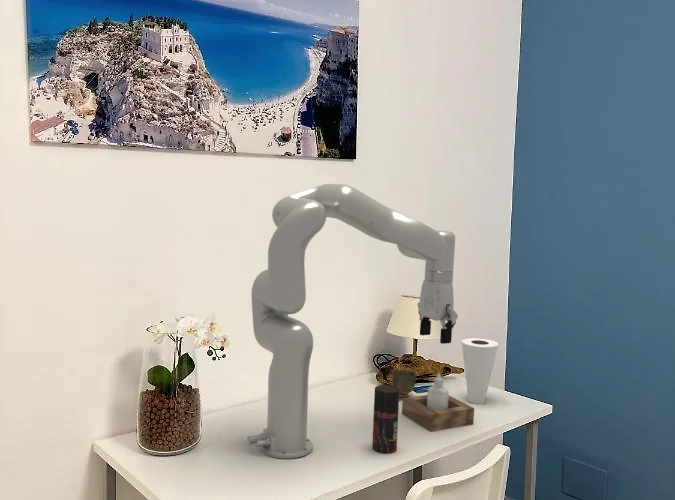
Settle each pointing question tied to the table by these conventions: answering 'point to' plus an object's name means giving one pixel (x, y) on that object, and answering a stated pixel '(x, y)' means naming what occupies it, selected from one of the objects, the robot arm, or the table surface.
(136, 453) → the table surface
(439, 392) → the eye dropper bottle
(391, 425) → the deodorant
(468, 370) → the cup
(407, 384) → the cup
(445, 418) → the socket
